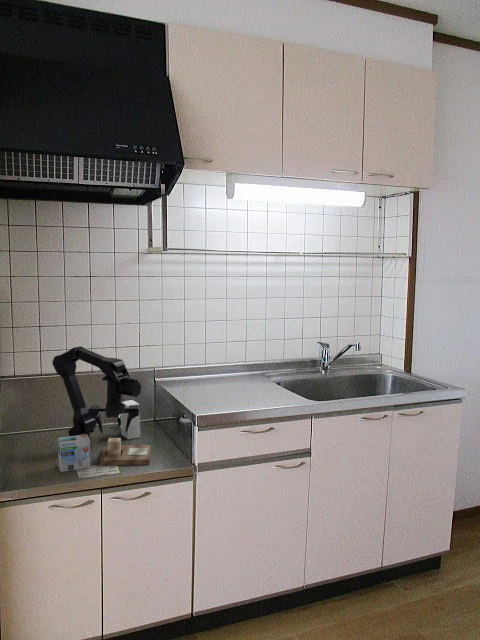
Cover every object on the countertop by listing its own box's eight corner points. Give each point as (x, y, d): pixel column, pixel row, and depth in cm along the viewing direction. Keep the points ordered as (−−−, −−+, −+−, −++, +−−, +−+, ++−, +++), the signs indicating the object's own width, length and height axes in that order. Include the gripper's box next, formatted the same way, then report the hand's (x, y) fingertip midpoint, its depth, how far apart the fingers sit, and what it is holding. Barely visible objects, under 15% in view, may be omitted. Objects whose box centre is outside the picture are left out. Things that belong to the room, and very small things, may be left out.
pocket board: (99, 465, 192) (99, 459, 192) (104, 450, 207) (104, 444, 207) (149, 464, 195) (149, 458, 195) (150, 449, 210) (150, 444, 209)
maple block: (107, 460, 198) (107, 442, 197) (108, 455, 202) (108, 438, 201) (119, 459, 198) (119, 442, 198) (120, 455, 203) (120, 437, 202)
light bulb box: (60, 472, 185) (60, 443, 184) (57, 465, 191) (57, 437, 190) (91, 468, 190) (91, 439, 189) (87, 461, 196) (87, 433, 195)
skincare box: (140, 437, 223) (140, 403, 221) (127, 440, 219) (127, 405, 218) (132, 431, 230) (133, 399, 228) (119, 434, 226) (120, 400, 225)
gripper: (85, 398, 188) (85, 440, 190) (138, 398, 191) (137, 439, 193) (90, 390, 199) (90, 430, 201) (139, 390, 202) (139, 429, 204)
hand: (114, 432), depth 199 cm, fingers open, 9 cm apart
